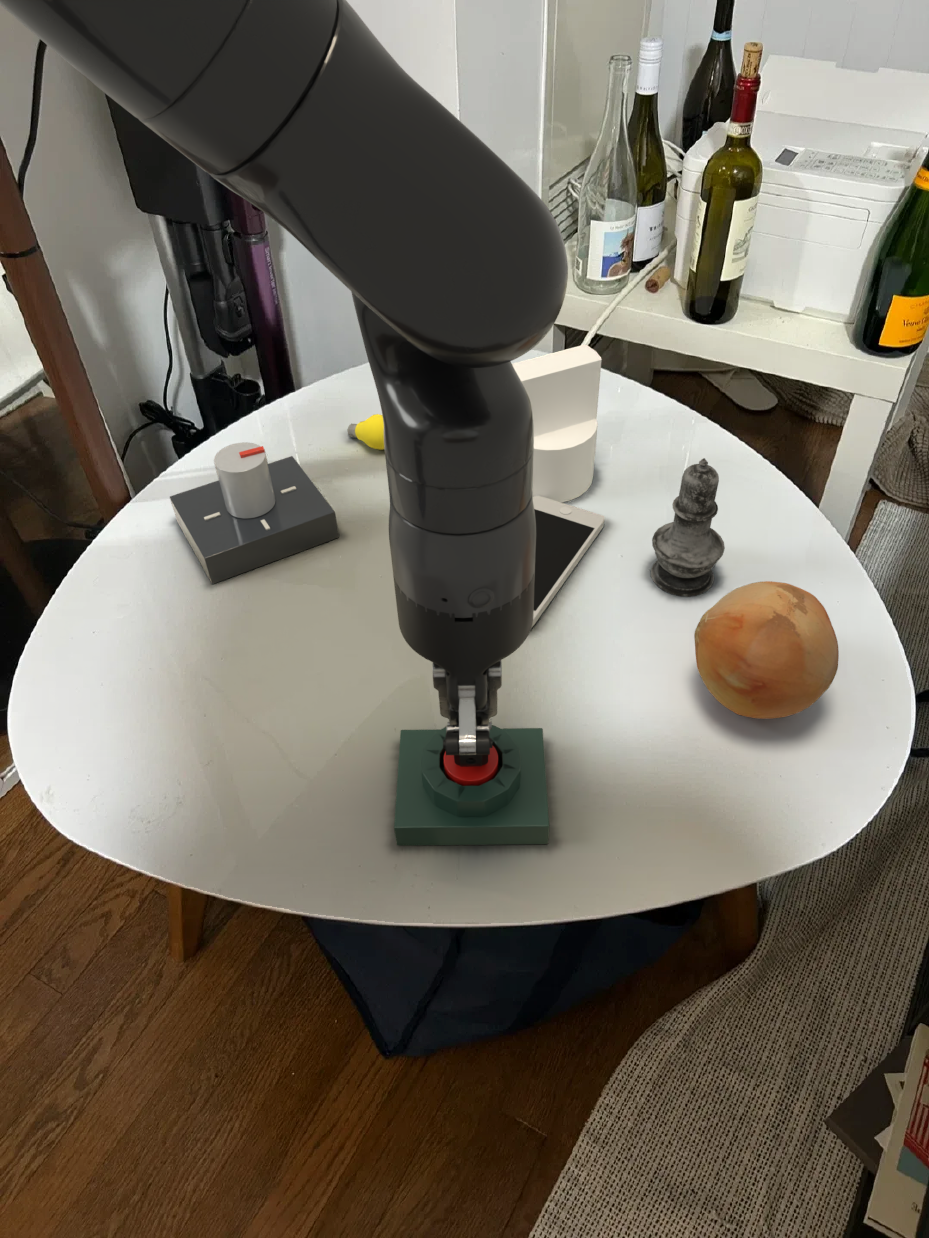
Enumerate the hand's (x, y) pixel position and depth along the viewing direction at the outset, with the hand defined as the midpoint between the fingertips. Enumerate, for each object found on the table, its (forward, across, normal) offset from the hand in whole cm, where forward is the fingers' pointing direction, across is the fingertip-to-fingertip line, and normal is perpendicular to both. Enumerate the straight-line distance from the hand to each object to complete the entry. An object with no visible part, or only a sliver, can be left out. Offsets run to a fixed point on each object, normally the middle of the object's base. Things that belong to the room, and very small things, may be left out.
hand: (471, 756), depth 61 cm
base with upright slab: (+4, -36, +7) cm, 37 cm away
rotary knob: (+1, -29, -20) cm, 35 cm away
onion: (+4, -9, +21) cm, 23 cm away
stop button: (+2, 0, 0) cm, 2 cm away
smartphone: (+4, -24, +5) cm, 25 cm away
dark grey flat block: (+4, -29, -20) cm, 35 cm away
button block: (+4, 0, 0) cm, 4 cm away
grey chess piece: (+4, -22, +18) cm, 29 cm away
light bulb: (+4, -43, -10) cm, 44 cm away
